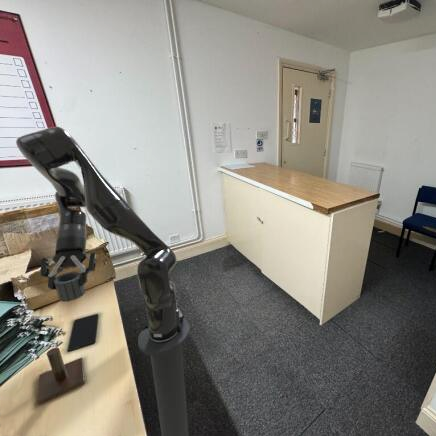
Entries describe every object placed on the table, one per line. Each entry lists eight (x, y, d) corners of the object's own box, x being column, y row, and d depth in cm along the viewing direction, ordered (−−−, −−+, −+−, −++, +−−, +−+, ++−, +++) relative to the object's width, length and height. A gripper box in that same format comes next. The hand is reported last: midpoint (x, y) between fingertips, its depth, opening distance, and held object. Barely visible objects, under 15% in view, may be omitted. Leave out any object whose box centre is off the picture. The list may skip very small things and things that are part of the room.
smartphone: (66, 351, 74) (74, 319, 85) (67, 353, 74) (74, 321, 85) (95, 342, 77) (98, 313, 89) (95, 344, 78) (98, 314, 89)
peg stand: (82, 359, 72) (74, 332, 68) (84, 383, 66) (76, 354, 62) (40, 377, 66) (29, 348, 62) (38, 404, 60) (26, 374, 56)
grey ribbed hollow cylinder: (84, 286, 82) (80, 269, 80) (85, 296, 78) (81, 279, 76) (59, 293, 78) (54, 275, 76) (59, 304, 74) (53, 285, 72)
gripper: (37, 237, 75) (30, 289, 69) (94, 233, 81) (92, 280, 76) (48, 245, 81) (43, 293, 75) (100, 240, 87) (99, 284, 82)
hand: (67, 286), depth 75 cm, fingers closed on grey ribbed hollow cylinder, 6 cm apart
